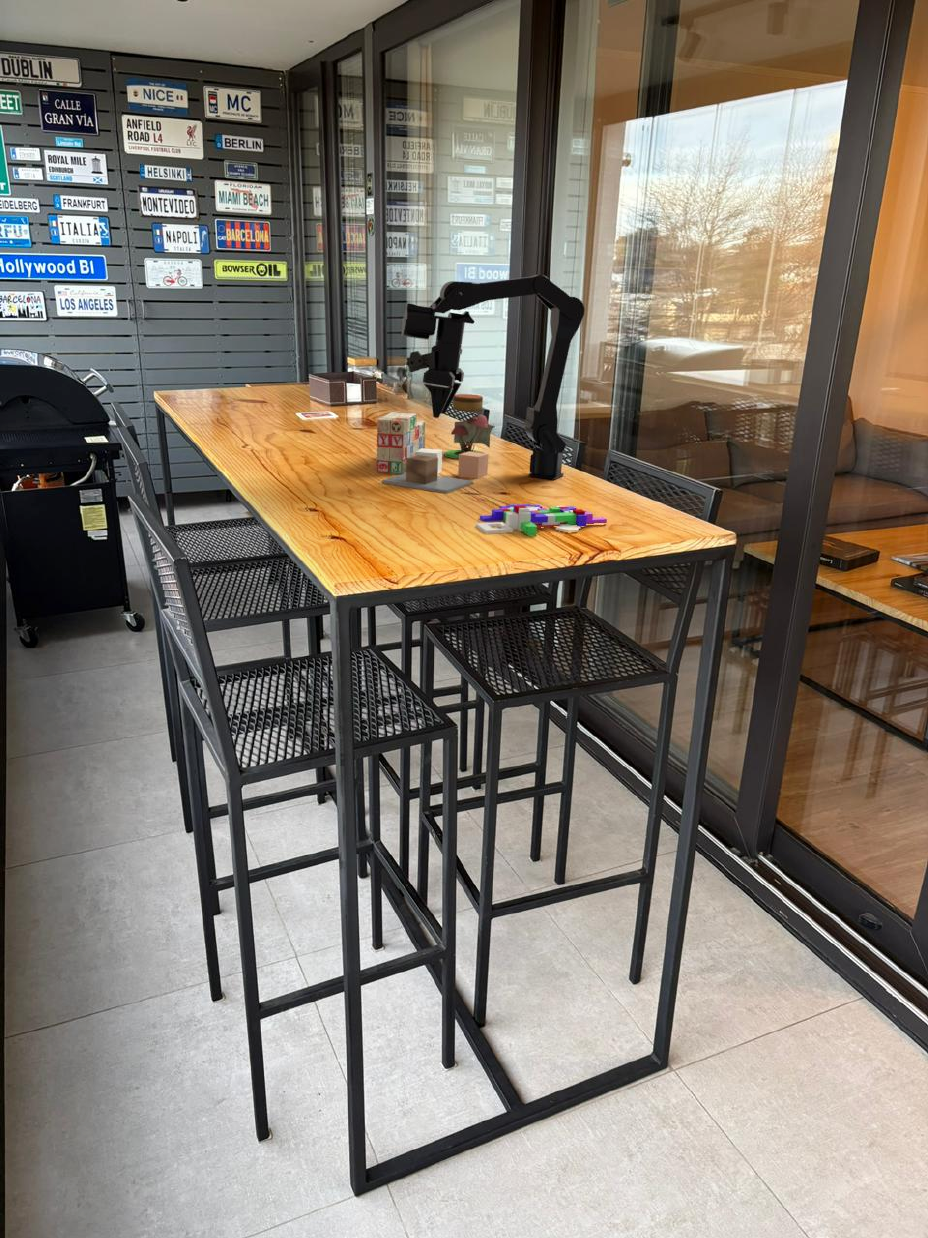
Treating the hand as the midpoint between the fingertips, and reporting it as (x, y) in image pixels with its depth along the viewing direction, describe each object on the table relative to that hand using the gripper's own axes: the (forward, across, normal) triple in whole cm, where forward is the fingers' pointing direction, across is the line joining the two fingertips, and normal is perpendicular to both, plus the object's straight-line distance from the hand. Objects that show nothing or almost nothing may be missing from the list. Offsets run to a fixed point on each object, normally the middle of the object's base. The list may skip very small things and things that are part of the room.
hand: (439, 415), depth 200 cm
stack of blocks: (+14, -10, -9) cm, 20 cm away
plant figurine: (+12, -28, +5) cm, 31 cm away
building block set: (+13, +34, +26) cm, 44 cm away
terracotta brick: (+13, -4, +9) cm, 16 cm away
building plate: (+14, +8, +1) cm, 16 cm away
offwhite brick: (+14, -4, -1) cm, 14 cm away
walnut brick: (+13, +9, -1) cm, 16 cm away
